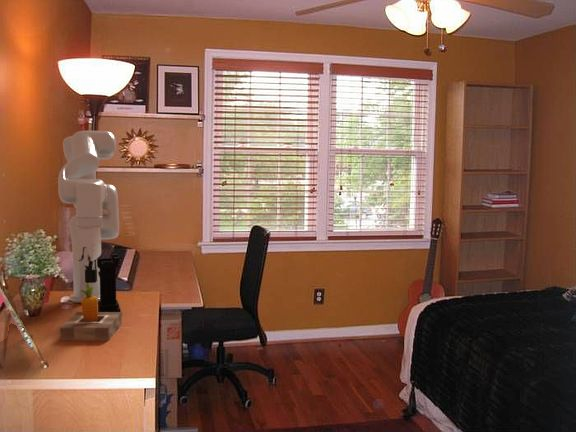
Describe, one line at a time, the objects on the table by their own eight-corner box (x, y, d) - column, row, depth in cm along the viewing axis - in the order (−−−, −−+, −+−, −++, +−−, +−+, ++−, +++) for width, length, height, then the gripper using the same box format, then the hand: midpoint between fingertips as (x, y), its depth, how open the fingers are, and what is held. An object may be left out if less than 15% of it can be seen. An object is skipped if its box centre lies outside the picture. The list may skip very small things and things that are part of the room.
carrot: (94, 335, 184) (91, 287, 182) (80, 334, 186) (76, 286, 183) (103, 329, 189) (99, 283, 187) (89, 328, 190) (85, 282, 188)
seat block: (77, 324, 195) (77, 311, 195) (121, 324, 196) (121, 311, 195) (60, 340, 179) (60, 326, 179) (108, 340, 180) (108, 326, 179)
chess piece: (121, 316, 204) (120, 257, 202) (97, 318, 201) (95, 259, 199) (119, 310, 212) (118, 253, 209) (95, 312, 209) (93, 254, 206)
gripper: (84, 219, 191) (86, 276, 193) (68, 225, 176) (70, 288, 178) (108, 219, 191) (110, 276, 193) (95, 226, 176) (96, 288, 178)
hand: (91, 282), depth 185 cm, fingers closed
